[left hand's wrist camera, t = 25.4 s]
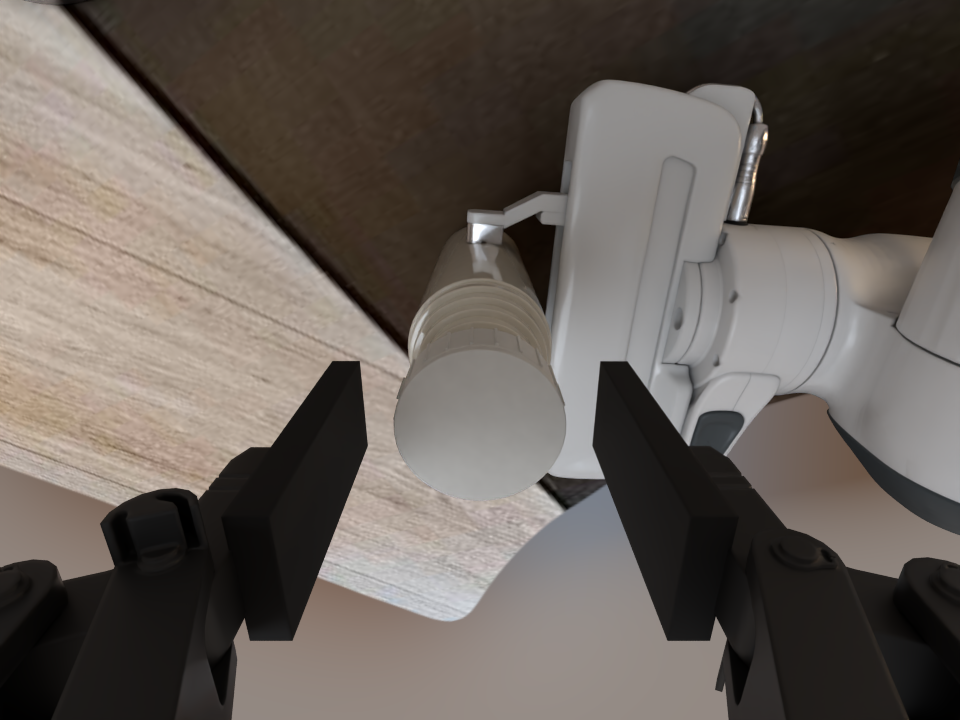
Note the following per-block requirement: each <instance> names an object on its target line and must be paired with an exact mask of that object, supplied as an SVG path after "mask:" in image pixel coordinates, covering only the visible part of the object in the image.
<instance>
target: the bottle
mask: <svg viewBox="0 0 960 720" xmlns="http://www.w3.org/2000/svg"><path fill="white" fill-rule="evenodd" d="M466 233H467V227H465V228H463V229H461V230H459V231H457V232H456V233H454V234H453V235H452V236H451V237H450V238H449V239H448V240H447V242H446V243H445V245H444V246H443V248H442V251H441V253H440V255H439V258H438V260H437V263H436V265H435V268H434V270H433V273H432V275H431V278H430V280H429V283H428V285H427V288H426V290H425V292H424V295H423V297H422V300H421V302H420V305H419V307H418V310H417V312H416V315H415V317H414V320H413V322H412V325H411V328H410V333H409V338H408V351H409V362H410V365H411V362H412V360H413V359H415V360H416V358H417V357H418V356H419V354H420V353H421V352H423V351H424V350H425V349H426V347H427V344H428V343H430V344H432V343H433V342H435V341H436V340H438V339H440V338H442V337H444V336H446V335H447V333H448V332H450V333H454V332H458V331H462V330H467V329H470V327H474V329H475V328H480V329H481V328H483V329H493V330H494V328H497V329H498V330H499V331H502V332H506V333H509V334H511V335H514V336H517V335H519V336H520V339H522V340H524V341H525V342H527V343H528V344H529V345H531V346H532V347H533V348H538V350H539V353H540V354H541V356H542V357H543V358H544V359H545V361H546V362H547V364H548V365H550V362H551V353H552V338H551V332H550V328H549V324H548V322H547V319H546V317H545V315H544V312H543V310H542V307H541V305H540V302H539V300H538V297H537V295H536V292H535V290H534V287H533V285H532V282H531V280H530V277H529V275H528V273H527V270H526V268H525V265H524V263H523V260H522V258H521V255H520V253H519V250H518V248H517V246H516V244H515V243H514V241H513V240H512V239H511V238H510V237H509V236H508V235H507V234H506V233H504V232H503V237H502V245H492V244H487V243H486V242H485V241H483V242H481V243H469V242H466Z"/></svg>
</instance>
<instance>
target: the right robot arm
mask: <svg viewBox="0 0 960 720" xmlns="http://www.w3.org/2000/svg"><path fill="white" fill-rule="evenodd" d="M752 112H753V123H751V124H749V123H750V119H751V115H752ZM768 136H769V125H768V124H763V110H762V106H761V103H760V101H759V99H758V98H757V96H756V95H755V94H754V93H753V92H752V91H751V90H749V89H748V88H746V87H743V86H740V85H731V84H718V83H704V84H700V85H697V86H695V87H693V88H691V89H690V90H688V91H687V92H685V93H682V92H678V91H674V90H670V89H666V88H661V87H657V86H652V85H647V84H641V83H635V82H628V81H621V80H601V81H598V82H596V83H594V84H592V85H591V86H589V87H588V88H586V89H585V90H584V91H583V92H582V93H581V94H580V95H579V96H578V97H577V98H576V99H575V100H574V101H573V102H572V104H571V108H570V115H569V123H568V131H567V139H566V148H565V156H564V164H563V172H562V181H561V189H560V192H545V191H537V192H535V193H533V194H531V195H529V196H527V197H525V198H523V199H521V200H519V201H517V202H515V203H514V204H512V205H510V206H508V207H506V208H504V209H503V211H494V210H480V209H469V210H468V214H467V233H466V242H469V243H481V242H483V241H485V242H486V243H487V244H492V245H502V237H503V227H504V229H505V228H507V227H509V226H511V225H513V224H515V223H517V222H519V221H521V220H523V219H525V218H528V217H530V216H532V215H534V214H536V217H537V219H538V220H539V221H540V222H541V223H542V224H549V225H556V230H555V238H554V246H553V255H552V263H551V271H550V279H549V288H548V296H547V304H546V312H545V317H546V319H547V322H548V324H549V328H550V332H551V338H552V353H551V362H550V365H551V366H552V369H553V372H554V375H555V378H556V381H557V384H558V385H559V388H560V390H561V393H562V396H563V399H564V402H565V406H564V410H565V414H566V435H565V440H564V444H563V447H562V449H561V452H560V454H559V456H558V458H557V460H556V462H555V463H554V465H553V466H552V467H551V469H550V470H549V471H548V473H549V474H551V475H553V476H557V477H564V478H578V479H605V478H604V475H603V472H602V470H601V467H600V465H599V462H598V459H597V457H596V454H595V452H594V449H593V447H592V443H593V432H594V422H595V411H596V401H597V390H598V380H599V369H600V361H628V363H629V364H630V365H631V367H632V368H633V370H634V371H635V372H636V374H637V375H638V376H639V378H640V379H641V381H642V382H643V383H644V385H645V386H646V388H647V389H648V390H649V392H650V393H651V395H652V396H653V397H654V399H655V400H656V402H657V403H658V404H659V406H660V407H661V409H662V410H663V411H664V413H665V414H666V416H667V417H668V418H669V420H670V421H671V422H672V424H673V425H674V427H675V428H676V429H677V431H678V432H679V434H680V435H681V436H682V438H683V439H684V441H685V442H686V443H687V445H688V446H711V447H712V448H714V449H715V450H717V451H718V452H720V453H722V454H723V455H725V456H727V455H728V453H729V452H730V450H731V449H732V448H733V446H734V445H735V443H736V442H737V440H738V439H739V438H740V436H741V435H742V433H743V432H744V431H745V429H746V428H747V427H748V426H749V424H750V423H751V422H752V420H753V419H754V418H755V417H756V415H757V414H758V413H759V412H760V411H761V410H762V409H763V407H764V406H765V405H766V404H767V403H768V402H769V401H770V400H771V399H772V398H773V396H774V395H784V394H790V393H800V392H801V393H809V394H812V395H815V396H817V397H819V398H821V399H823V400H825V401H826V403H827V404H828V406H829V409H828V410H827V414H828V416H829V418H830V420H831V421H832V423H833V425H834V426H835V428H836V430H837V431H838V432H839V434H840V435H841V437H842V438H843V439H844V441H845V442H846V443H847V445H848V446H849V447H850V448H851V450H852V451H853V453H854V454H855V455H856V457H857V458H858V459H859V461H860V462H861V463H862V465H863V466H864V467H865V469H866V470H867V472H868V473H869V474H870V476H871V477H872V478H873V479H874V480H875V482H876V483H877V484H878V485H879V486H880V487H881V488H882V489H883V490H884V491H886V492H887V493H888V494H889V495H890V496H891V497H893V498H894V499H895V500H896V501H898V502H899V503H900V504H901V505H903V506H904V507H905V508H907V509H908V510H909V511H911V512H912V513H914V514H915V515H917V516H919V517H920V518H922V519H924V520H925V521H927V522H929V523H931V524H933V525H936V526H938V527H940V528H942V529H945V530H947V531H950V532H952V533H955V534H958V535H960V159H959V162H958V165H957V169H956V172H955V175H954V178H953V181H952V184H951V188H952V190H953V192H952V194H951V197H950V199H949V201H948V204H947V206H946V208H945V211H944V213H943V215H942V218H941V220H940V222H939V224H938V227H937V229H936V231H935V234H934V236H933V238H928V237H919V236H910V235H898V234H883V233H877V234H866V235H861V236H856V237H852V238H844V239H841V238H835V237H832V236H829V235H827V234H825V233H822V232H820V231H817V230H813V229H808V228H801V227H786V226H772V225H758V224H749V223H747V220H748V216H749V212H750V208H751V204H752V200H753V196H754V192H755V187H756V184H755V183H756V180H757V179H756V177H757V171H758V168H759V166H758V165H759V164H760V160H761V157H762V155H764V152H765V149H766V146H767V142H768Z"/></svg>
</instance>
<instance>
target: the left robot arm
mask: <svg viewBox="0 0 960 720" xmlns="http://www.w3.org/2000/svg"><path fill="white" fill-rule="evenodd" d="M25 1H29V2H35V3H40V4H54V5H58V4H72V3H77V2H83V1H86V0H25ZM367 447H368V443H367V432H366V422H365V411H364V401H363V390H362V380H361V369H360V361H332V363H331V364H330V365H329V367H328V368H327V370H326V371H325V372H324V374H323V375H322V377H321V378H320V379H319V381H318V382H317V383H316V385H315V386H314V388H313V389H312V390H311V392H310V393H309V395H308V396H307V397H306V399H305V400H304V402H303V403H302V404H301V406H300V407H299V409H298V410H297V411H296V413H295V414H294V416H293V417H292V418H291V420H290V421H289V423H288V424H287V425H286V427H285V428H284V429H283V431H282V432H281V434H280V435H279V436H278V438H277V439H276V441H275V442H274V443H273V445H272V446H271V447H250V448H249V449H247V450H246V451H244V452H243V453H241V454H240V455H238V456H237V457H235V458H234V459H232V460H231V461H230V462H229V463H228V465H227V466H226V467H225V468H224V469H223V471H222V472H221V473H220V474H219V478H216V479H215V480H214V482H213V483H212V484H211V485H210V487H209V490H206V491H205V493H204V494H203V495H202V496H201V498H200V499H199V500H198V499H197V496H196V495H195V494H193V493H192V492H191V491H189V490H184V489H178V488H171V489H159V490H156V491H152V492H148V493H145V494H141V495H139V496H137V497H134V498H132V499H130V500H128V501H126V502H124V503H122V504H121V505H119V506H118V507H116V508H115V509H114V510H112V511H111V512H109V513H108V515H107V516H106V517H105V518H104V519H103V521H102V522H101V523H100V525H101V528H102V531H103V533H104V536H105V539H106V542H107V545H108V548H109V551H110V554H111V557H112V560H113V562H114V565H115V567H114V569H112V570H109V571H105V572H100V573H96V574H91V575H87V576H82V577H78V578H73V579H69V580H64V581H62V579H61V576H60V574H59V571H58V569H57V567H56V566H55V565H54V564H52V563H51V562H49V561H46V560H28V561H22V562H17V563H12V564H10V565H6V566H4V567H0V720H231V719H232V708H233V698H234V687H235V677H236V666H237V656H236V650H235V645H234V641H233V640H234V638H235V636H236V634H237V632H238V630H239V628H240V626H241V624H242V622H243V620H244V618H245V621H246V626H247V630H248V634H249V638H250V641H292V640H293V638H294V635H295V633H296V630H297V628H298V625H299V622H300V620H301V617H302V614H303V612H304V609H305V607H306V604H307V602H308V599H309V596H310V594H311V591H312V589H313V586H314V584H315V581H316V578H317V576H318V573H319V571H320V568H321V565H322V563H323V560H324V558H325V555H326V553H327V550H328V547H329V545H330V542H331V540H332V537H333V534H334V532H335V529H336V527H337V524H338V522H339V519H340V516H341V514H342V511H343V509H344V506H345V503H346V501H347V498H348V496H349V493H350V490H351V488H352V485H353V483H354V480H355V478H356V475H357V472H358V470H359V467H360V465H361V462H362V459H363V457H364V454H365V452H366V449H367ZM592 447H593V449H594V452H595V454H596V457H597V459H598V462H599V465H600V467H601V470H602V472H603V475H604V478H605V480H606V483H607V485H608V488H609V490H610V493H611V496H612V498H613V501H614V503H615V506H616V508H617V511H618V514H619V516H620V519H621V522H622V524H623V527H624V529H625V532H626V534H627V537H628V539H629V542H630V545H631V547H632V550H633V553H634V555H635V558H636V560H637V563H638V565H639V568H640V571H641V573H642V576H643V578H644V581H645V584H646V586H647V589H648V591H649V594H650V596H651V599H652V602H653V604H654V607H655V609H656V612H657V615H658V617H659V620H660V622H661V625H662V628H663V630H664V633H665V635H666V638H667V640H668V641H710V638H711V634H712V630H713V626H714V621H715V617H717V619H718V621H719V623H720V625H721V627H722V629H723V631H724V633H725V635H726V637H727V641H726V645H725V649H724V653H723V657H722V661H721V665H720V669H719V673H718V677H717V682H716V688H715V690H717V691H721V692H722V690H723V686H724V683H725V686H726V696H727V707H728V717H729V720H960V565H957V564H956V563H952V562H949V561H945V560H940V559H934V558H929V557H926V558H913V559H911V560H910V561H908V562H907V563H905V564H904V567H903V569H902V571H901V574H900V576H899V579H897V578H892V577H887V576H883V575H878V574H874V573H869V572H865V571H860V570H856V569H852V568H849V567H846V566H845V565H844V563H843V562H842V560H841V559H840V557H839V556H838V554H837V553H835V552H834V551H833V550H832V549H830V548H829V547H828V546H827V545H825V544H824V543H823V542H821V541H819V540H817V539H815V538H813V537H811V536H809V535H807V534H804V533H801V532H798V531H794V530H791V529H787V528H786V527H785V526H784V524H783V523H782V522H781V521H780V520H779V518H778V517H777V516H776V515H775V513H774V512H773V511H772V510H771V509H770V507H769V506H768V505H767V504H766V503H765V501H764V500H763V499H762V498H761V497H760V495H759V494H758V493H757V492H756V490H755V489H752V487H751V484H750V483H749V482H748V481H747V479H746V478H745V477H744V476H741V472H740V471H739V470H738V469H737V467H736V466H735V465H734V464H733V462H732V461H731V460H730V459H729V458H728V457H726V456H725V455H723V454H722V453H720V452H718V451H717V450H715V449H714V448H712V447H711V446H688V445H687V443H686V442H685V441H684V439H683V438H682V436H681V435H680V434H679V432H678V431H677V429H676V428H675V427H674V425H673V424H672V422H671V421H670V420H669V418H668V417H667V416H666V414H665V413H664V411H663V410H662V409H661V407H660V406H659V404H658V403H657V402H656V400H655V399H654V397H653V396H652V395H651V393H650V392H649V390H648V389H647V388H646V386H645V385H644V383H643V382H642V381H641V379H640V378H639V376H638V375H637V374H636V372H635V371H634V370H633V368H632V367H631V365H630V364H629V363H628V361H600V369H599V380H598V390H597V401H596V411H595V422H594V432H593V443H592Z"/></svg>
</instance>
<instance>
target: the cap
mask: <svg viewBox="0 0 960 720" xmlns="http://www.w3.org/2000/svg"><path fill="white" fill-rule="evenodd" d="M397 399H399V400H398V403H397V406H396V410H395V415H394V435H395V439H396V444H397V447H398V449H399V452H400V454H401V456H402V458H403V460H404V461H405V463H406V464H407V466H408V467H409V468H410V470H411V471H412V472H413V473H414V474H415V475H416V476H417V477H418V478H419V479H420V480H422V481H423V482H424V483H425V484H427V485H428V486H430V487H431V488H433V489H435V490H437V491H439V492H441V493H443V494H446V495H449V496H452V497H455V498H459V499H464V500H473V501H487V500H496V499H501V498H505V497H509V496H511V495H514V494H517V493H519V492H521V491H523V490H525V489H527V488H529V487H530V486H532V485H534V484H535V483H536V482H537V481H539V480H540V479H541V478H542V477H543V476H544V475H545V474H546V473H547V472H548V471H549V470H550V469H551V467H552V466H553V465H554V463H555V462H556V460H557V458H558V456H559V454H560V452H561V449H562V447H563V444H564V440H565V435H566V414H565V410H564V406H565V402H564V399H563V396H562V393H561V390H560V388H559V385H558V384H557V381H556V378H555V375H554V372H553V369H552V366H551V365H548V364H547V362H546V361H545V359H544V358H543V357H542V356H541V354H540V353H539V350H538V348H533V347H532V346H531V345H529V344H528V343H527V342H525V341H524V340H522V339H520V336H519V335H517V336H514V335H511V334H509V333H506V332H502V331H499V330H498V329H497V328H494V330H493V329H483V328H481V329H480V328H475V329H474V327H470V329H467V330H462V331H458V332H454V333H450V332H448V333H447V335H446V336H444V337H442V338H440V339H438V340H436V341H435V342H433V343H432V344H430V343H428V344H427V347H426V349H425V350H424V351H423V352H421V353H420V354H419V356H418V357H417V358H416V360H415V359H413V360H412V362H411V365H410V368H409V371H408V374H407V376H406V378H403V381H402V384H401V387H400V389H399V392H398V395H397Z"/></svg>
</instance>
